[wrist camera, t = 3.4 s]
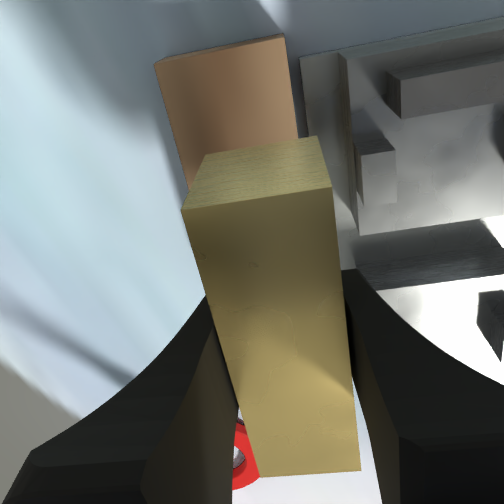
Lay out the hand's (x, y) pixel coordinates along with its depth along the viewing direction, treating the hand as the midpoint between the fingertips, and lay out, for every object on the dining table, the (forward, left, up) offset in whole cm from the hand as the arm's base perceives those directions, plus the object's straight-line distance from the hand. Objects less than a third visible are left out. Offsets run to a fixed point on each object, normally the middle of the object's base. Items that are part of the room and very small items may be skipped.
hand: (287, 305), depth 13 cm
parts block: (+1, -1, -9) cm, 9 cm away
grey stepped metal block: (-7, +3, -9) cm, 12 cm away
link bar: (0, 0, -1) cm, 1 cm away
